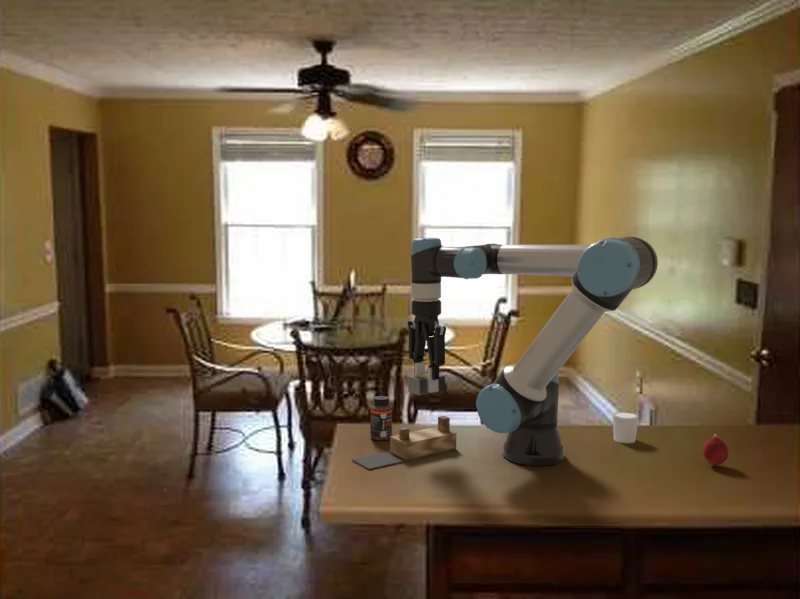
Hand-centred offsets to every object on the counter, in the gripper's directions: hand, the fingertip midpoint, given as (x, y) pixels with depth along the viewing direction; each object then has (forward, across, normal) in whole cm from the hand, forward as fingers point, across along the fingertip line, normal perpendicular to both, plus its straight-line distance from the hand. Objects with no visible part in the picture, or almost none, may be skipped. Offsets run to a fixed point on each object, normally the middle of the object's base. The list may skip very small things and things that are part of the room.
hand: (426, 389), depth 198 cm
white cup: (+17, -22, -50) cm, 57 cm away
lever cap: (0, 0, 0) cm, 0 cm away
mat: (+16, +1, +15) cm, 22 cm away
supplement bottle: (+16, +16, +4) cm, 23 cm away
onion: (+18, -48, -52) cm, 73 cm away
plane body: (+16, +1, +1) cm, 16 cm away
